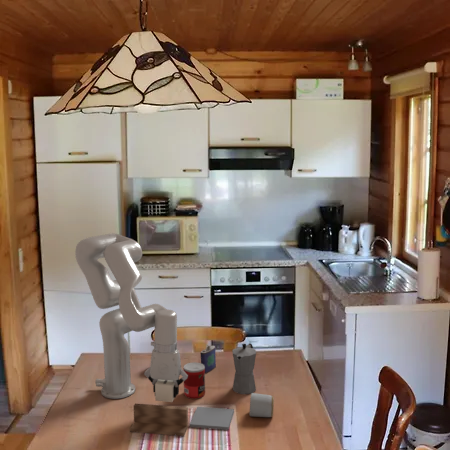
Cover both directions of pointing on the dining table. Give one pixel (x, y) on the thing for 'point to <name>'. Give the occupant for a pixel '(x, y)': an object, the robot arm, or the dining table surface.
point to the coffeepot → (244, 369)
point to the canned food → (194, 380)
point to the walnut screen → (160, 419)
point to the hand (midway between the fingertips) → (166, 394)
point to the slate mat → (212, 418)
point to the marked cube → (164, 390)
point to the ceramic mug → (261, 405)
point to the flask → (208, 358)
